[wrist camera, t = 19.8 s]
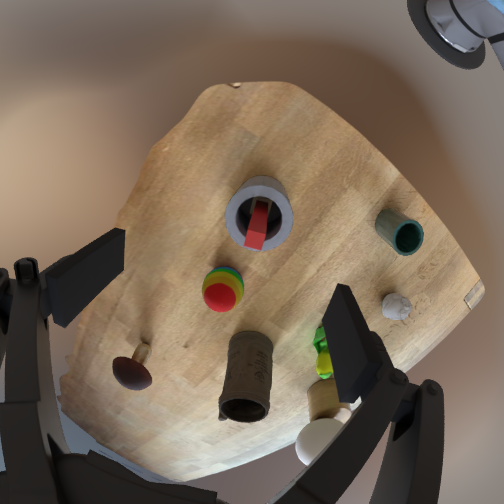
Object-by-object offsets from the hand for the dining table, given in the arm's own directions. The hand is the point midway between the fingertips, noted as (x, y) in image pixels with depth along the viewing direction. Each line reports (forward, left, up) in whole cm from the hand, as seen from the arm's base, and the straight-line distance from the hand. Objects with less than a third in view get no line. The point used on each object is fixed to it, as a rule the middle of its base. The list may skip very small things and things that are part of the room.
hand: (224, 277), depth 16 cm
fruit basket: (+29, +25, -37) cm, 53 cm away
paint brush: (+2, +1, -36) cm, 36 cm away
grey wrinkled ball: (+15, +35, -37) cm, 53 cm away
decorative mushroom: (+47, -19, -37) cm, 62 cm away
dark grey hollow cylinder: (+39, +7, -37) cm, 54 cm away
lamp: (+49, +31, -37) cm, 69 cm away
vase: (+2, +1, -36) cm, 36 cm away
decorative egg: (+20, -2, -37) cm, 42 cm away
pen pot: (-1, +27, -36) cm, 46 cm away
